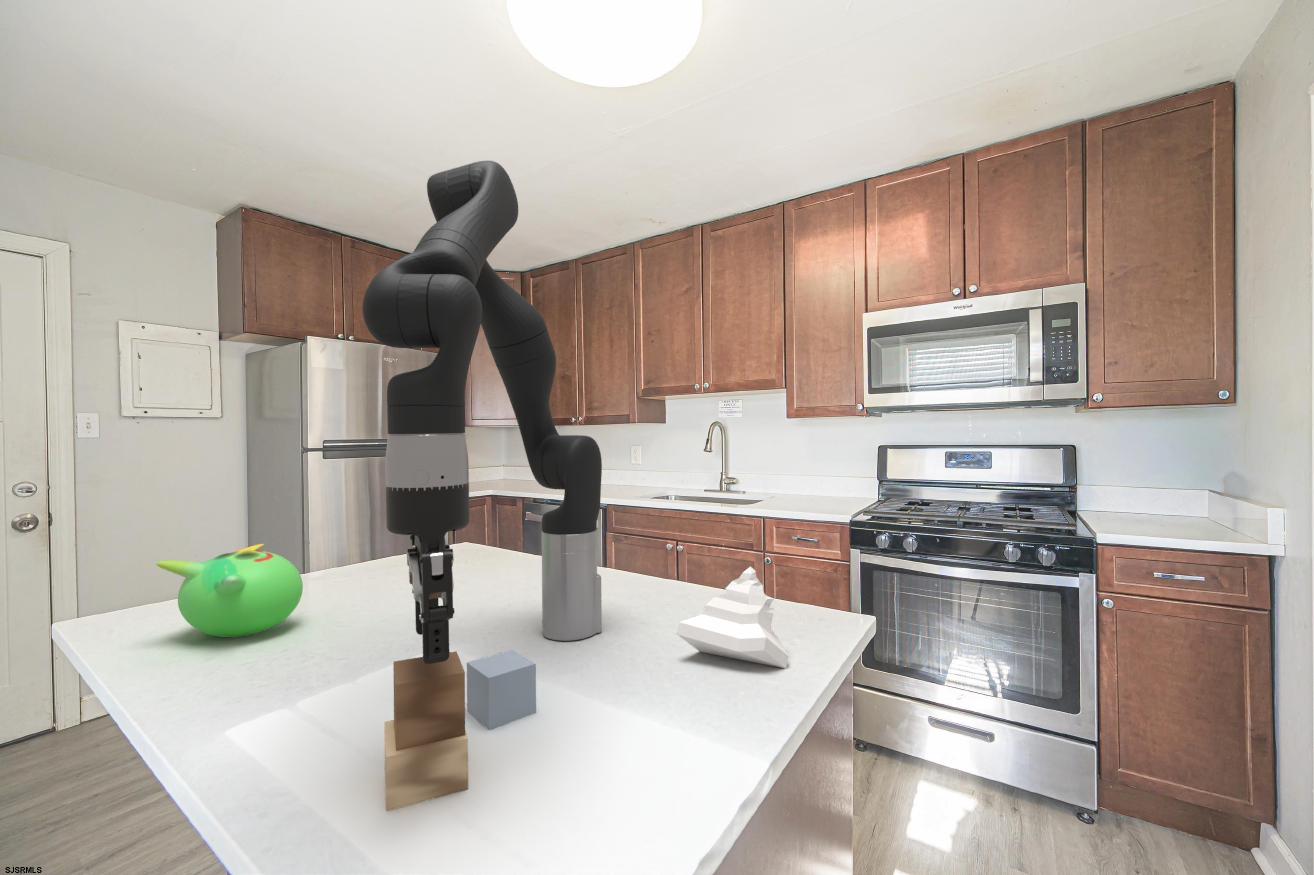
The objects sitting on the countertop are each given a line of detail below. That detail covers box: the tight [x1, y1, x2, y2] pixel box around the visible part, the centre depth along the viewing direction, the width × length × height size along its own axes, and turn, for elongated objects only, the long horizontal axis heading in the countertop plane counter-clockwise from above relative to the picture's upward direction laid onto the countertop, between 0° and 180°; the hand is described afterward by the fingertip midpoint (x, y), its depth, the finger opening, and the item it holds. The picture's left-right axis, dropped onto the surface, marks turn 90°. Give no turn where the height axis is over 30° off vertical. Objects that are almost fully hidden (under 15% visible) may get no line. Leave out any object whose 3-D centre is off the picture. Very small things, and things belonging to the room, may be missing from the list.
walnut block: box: [393, 650, 466, 751], centre depth 56 cm, size 6×6×6 cm
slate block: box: [466, 649, 537, 731], centre depth 69 cm, size 6×6×6 cm
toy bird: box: [156, 543, 304, 638], centre depth 97 cm, size 18×17×15 cm
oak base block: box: [383, 719, 469, 812], centre depth 55 cm, size 7×7×5 cm
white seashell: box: [676, 565, 789, 669], centre depth 86 cm, size 12×15×14 cm
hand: (431, 645), depth 56 cm, fingers open, 8 cm apart
